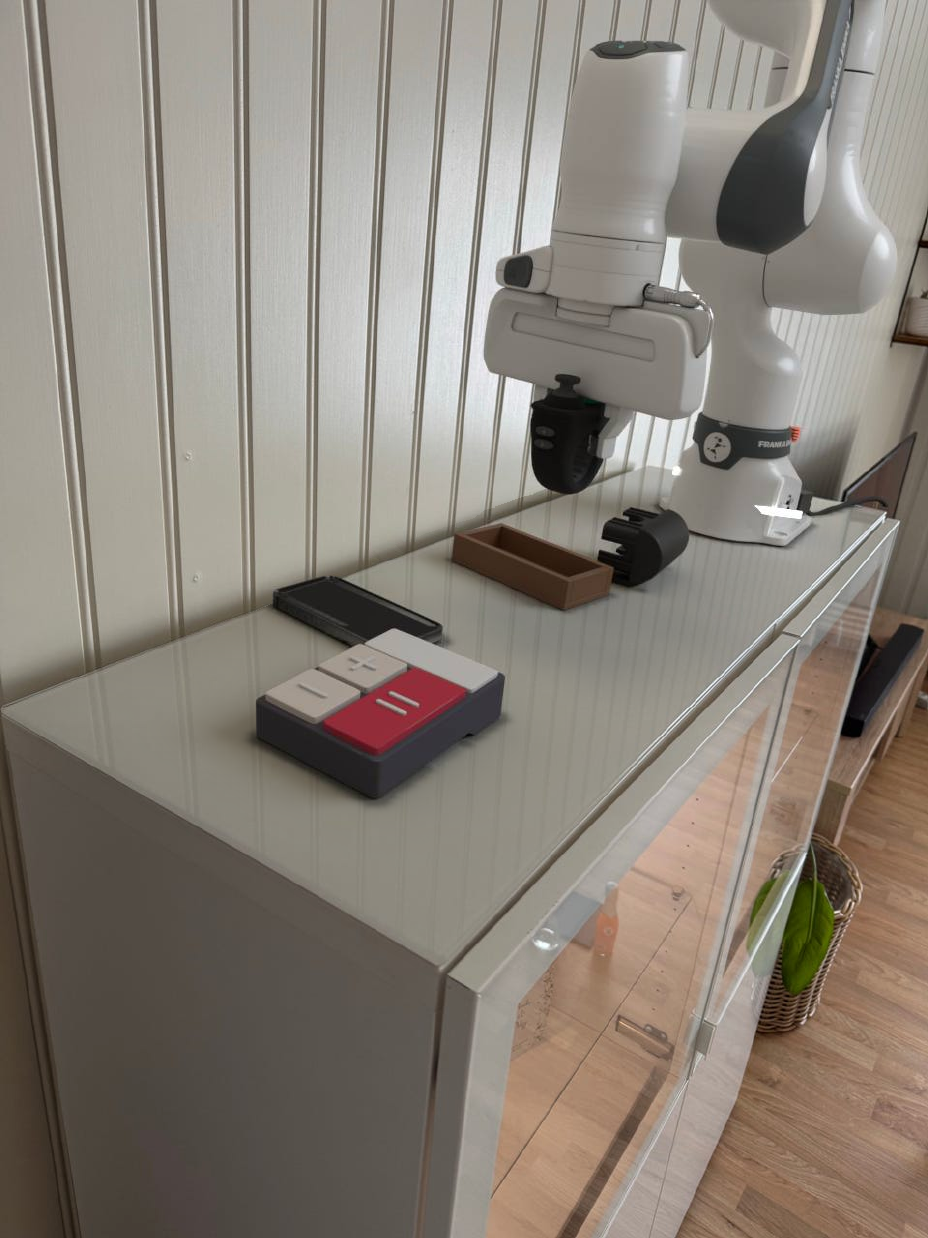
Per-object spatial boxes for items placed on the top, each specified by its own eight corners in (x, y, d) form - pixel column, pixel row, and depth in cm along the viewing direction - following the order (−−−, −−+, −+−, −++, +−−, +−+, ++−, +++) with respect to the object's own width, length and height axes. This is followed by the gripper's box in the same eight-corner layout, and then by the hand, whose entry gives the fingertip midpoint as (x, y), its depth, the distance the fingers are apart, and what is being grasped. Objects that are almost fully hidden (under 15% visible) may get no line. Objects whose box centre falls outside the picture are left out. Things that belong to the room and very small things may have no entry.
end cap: (654, 596, 98) (667, 535, 95) (592, 578, 100) (603, 518, 98) (682, 571, 106) (695, 514, 103) (623, 555, 109) (634, 499, 106)
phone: (331, 573, 90) (448, 626, 81) (330, 584, 90) (446, 638, 82) (266, 591, 84) (385, 650, 76) (266, 603, 84) (384, 663, 76)
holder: (497, 548, 106) (501, 522, 105) (608, 595, 96) (614, 567, 95) (451, 560, 100) (454, 533, 99) (563, 610, 91) (568, 581, 90)
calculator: (252, 689, 62) (393, 618, 74) (253, 743, 64) (390, 666, 76) (378, 753, 57) (509, 666, 68) (375, 809, 59) (503, 715, 70)
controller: (511, 497, 76) (527, 374, 72) (579, 471, 86) (596, 361, 82) (556, 510, 74) (576, 384, 70) (621, 482, 84) (641, 370, 80)
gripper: (739, 295, 69) (700, 475, 75) (529, 261, 81) (510, 418, 87) (695, 295, 65) (658, 486, 71) (481, 259, 77) (464, 424, 83)
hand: (575, 448), depth 79 cm, fingers closed on controller, 4 cm apart
